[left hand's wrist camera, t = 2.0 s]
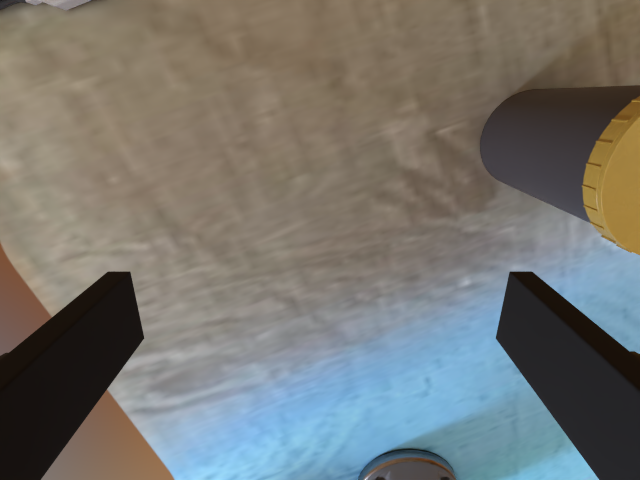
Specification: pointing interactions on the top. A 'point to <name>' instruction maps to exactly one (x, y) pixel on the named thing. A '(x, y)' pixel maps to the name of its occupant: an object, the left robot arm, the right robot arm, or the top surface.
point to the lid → (616, 180)
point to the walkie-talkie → (59, 0)
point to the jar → (550, 140)
